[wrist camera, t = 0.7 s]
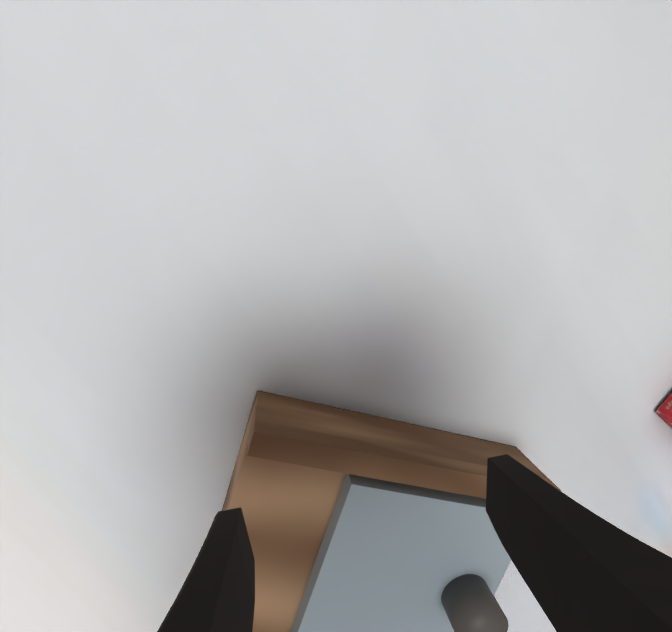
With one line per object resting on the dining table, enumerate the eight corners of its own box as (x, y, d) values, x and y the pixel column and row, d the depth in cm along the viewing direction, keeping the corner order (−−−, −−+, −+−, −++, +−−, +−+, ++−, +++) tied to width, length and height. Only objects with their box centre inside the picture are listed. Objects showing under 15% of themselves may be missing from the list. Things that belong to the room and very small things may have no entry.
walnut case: (435, 625, 27) (462, 694, 23) (194, 603, 24) (180, 679, 20) (515, 446, 24) (561, 490, 21) (257, 390, 21) (254, 431, 17)
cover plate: (450, 652, 24) (475, 713, 21) (287, 639, 22) (289, 705, 19) (520, 502, 22) (558, 546, 19) (347, 470, 19) (360, 515, 17)
